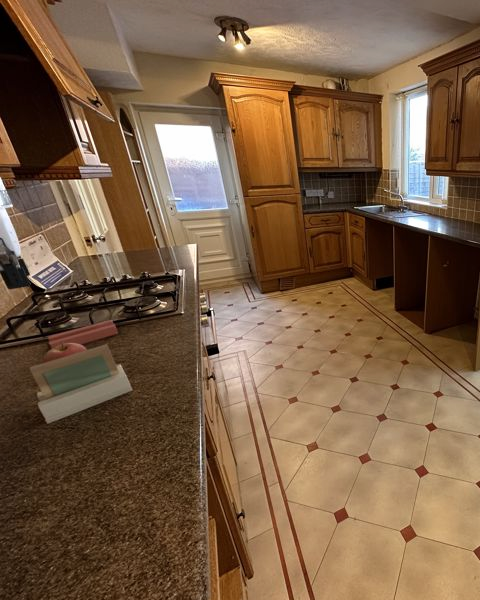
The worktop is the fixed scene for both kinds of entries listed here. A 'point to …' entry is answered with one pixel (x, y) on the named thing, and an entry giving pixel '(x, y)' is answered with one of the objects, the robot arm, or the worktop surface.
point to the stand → (84, 334)
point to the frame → (74, 371)
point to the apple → (63, 351)
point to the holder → (83, 397)
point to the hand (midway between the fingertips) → (20, 281)
